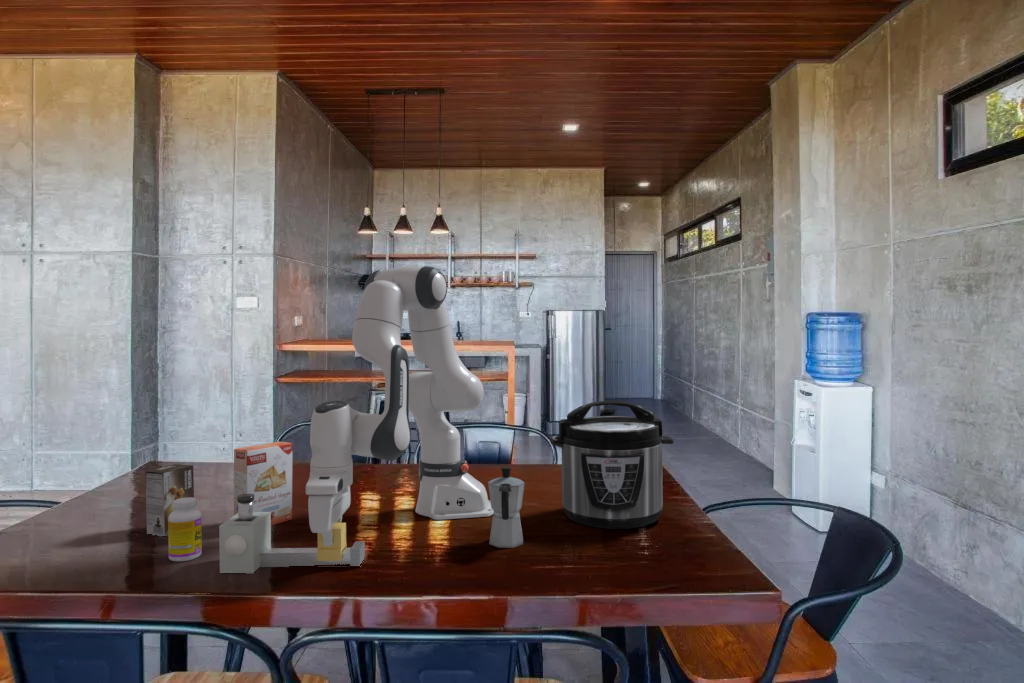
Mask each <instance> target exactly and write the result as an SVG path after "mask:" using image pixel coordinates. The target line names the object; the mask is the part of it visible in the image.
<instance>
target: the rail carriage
mask: <svg viewBox="0 0 1024 683" xmlns="http://www.w3.org/2000/svg"><path fill="white" fill-rule="evenodd" d="M332 535H333V543H332V545H331V546H324V545H323V536H322V533H317V548H318V549H317V561H341V560H342V550H343V549H344V548H348V547H347V545H348V544H347V522H341V523H335V524H334V526H333V529H332Z"/></svg>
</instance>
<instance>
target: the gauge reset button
mask: <svg viewBox="0 0 1024 683" xmlns="http://www.w3.org/2000/svg"><path fill="white" fill-rule="evenodd" d="M253 500H254V494H242V495H238V496H237V502H238V521H252V520H253Z"/></svg>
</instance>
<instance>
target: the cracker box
mask: <svg viewBox="0 0 1024 683" xmlns="http://www.w3.org/2000/svg"><path fill="white" fill-rule="evenodd" d="M242 494H254V500H253V512H271V527H272V526H274V525H278V524H281V523H285V522H287V521H288V520H289V521H291V519H292V520H293V443H292V442H287V441H274V442H268V443H263V444H256V445H250V446H245V447H244V446H242V447H238V448H234V449H233V516H234V515H236V514H237V513H238V502H237V496H238V495H242Z"/></svg>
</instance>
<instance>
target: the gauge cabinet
mask: <svg viewBox="0 0 1024 683" xmlns="http://www.w3.org/2000/svg"><path fill="white" fill-rule="evenodd" d="M271 530H272V526H271V512H253V520H252V521H238V513H237V514H236V515H234V514H233V516H232V517H230V518H228V519H227V520H226V521H225V522H223V523H221V524H220V525H219V532H218V533H219V534H218V535H219V574H220V573H246V574H255V573H256V572H257V571H258V570H259V569H260V568H261V567H260V553H261V552H262V551H263V550H264V549H265V548H272V542H271V541H272V531H271ZM259 567H260V568H259ZM258 568H259V569H258ZM257 569H258V570H257ZM256 570H257V571H256ZM255 571H256V572H255ZM254 572H255V573H254Z"/></svg>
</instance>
